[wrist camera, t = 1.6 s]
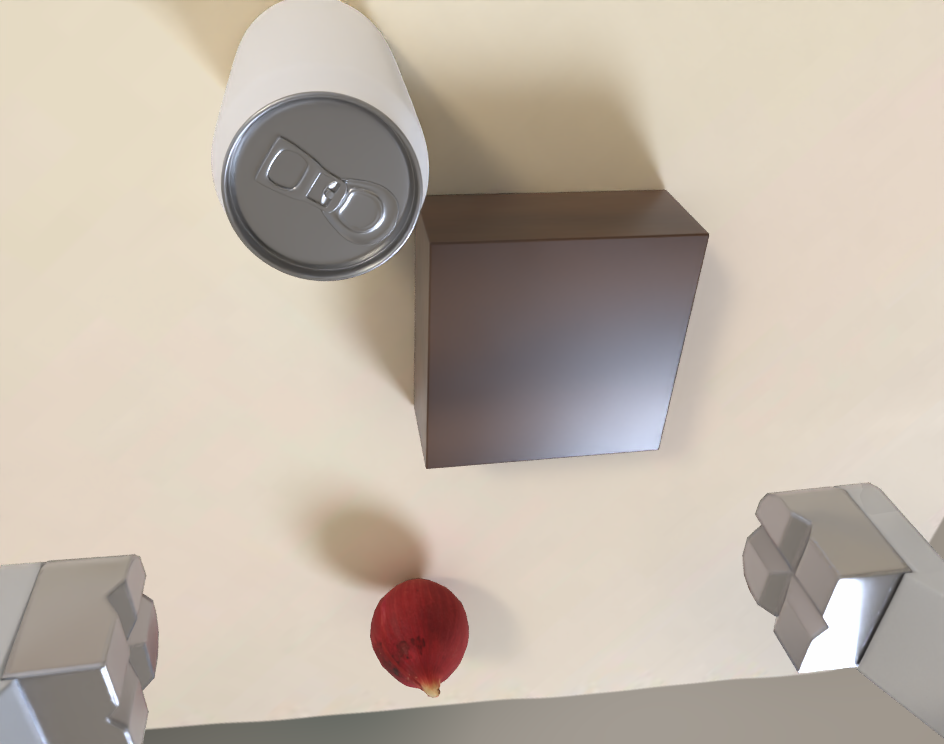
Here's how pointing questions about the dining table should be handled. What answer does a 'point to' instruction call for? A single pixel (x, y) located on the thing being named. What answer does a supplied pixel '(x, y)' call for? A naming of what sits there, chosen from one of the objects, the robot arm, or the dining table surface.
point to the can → (318, 143)
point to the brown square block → (549, 322)
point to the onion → (420, 634)
